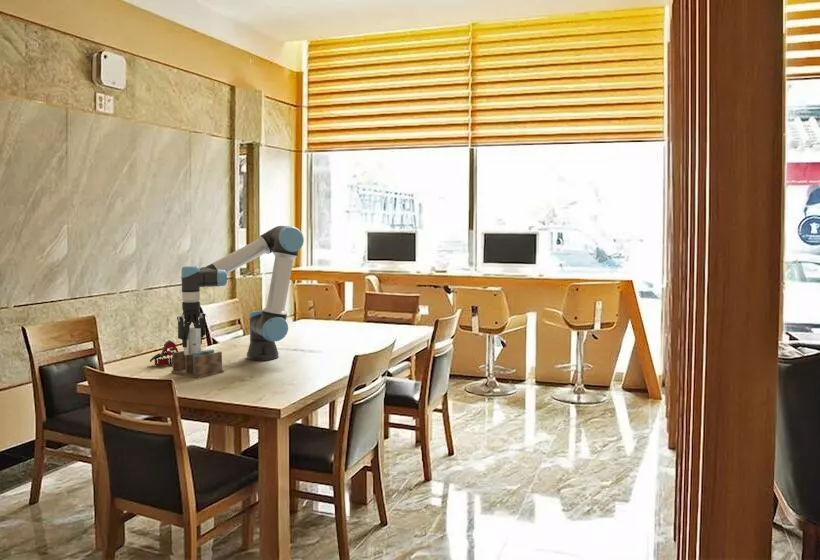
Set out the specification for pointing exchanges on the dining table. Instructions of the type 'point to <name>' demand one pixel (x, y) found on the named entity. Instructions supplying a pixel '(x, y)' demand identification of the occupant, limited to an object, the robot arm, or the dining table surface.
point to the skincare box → (194, 340)
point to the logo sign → (165, 354)
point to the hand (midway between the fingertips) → (192, 353)
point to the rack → (197, 363)
